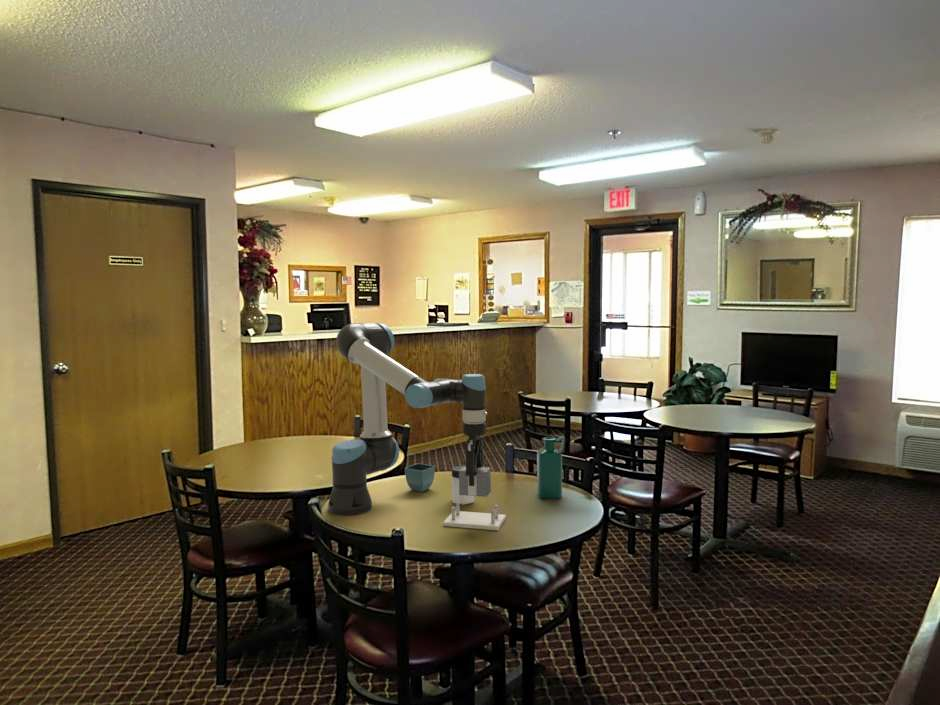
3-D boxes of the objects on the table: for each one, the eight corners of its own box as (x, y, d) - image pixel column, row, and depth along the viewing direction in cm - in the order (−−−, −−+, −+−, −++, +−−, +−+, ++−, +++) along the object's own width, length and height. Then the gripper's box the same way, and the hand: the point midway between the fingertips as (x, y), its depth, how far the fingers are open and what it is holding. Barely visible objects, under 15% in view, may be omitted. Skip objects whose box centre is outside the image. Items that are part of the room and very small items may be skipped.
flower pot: (422, 494, 242) (422, 470, 242) (404, 491, 247) (403, 468, 246) (436, 488, 250) (435, 465, 249) (417, 485, 255) (417, 463, 254)
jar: (458, 506, 228) (458, 472, 227) (446, 500, 235) (446, 468, 234) (479, 501, 233) (479, 469, 232) (467, 496, 240) (467, 464, 239)
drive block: (459, 495, 208) (458, 470, 208) (464, 489, 214) (464, 465, 214) (486, 496, 206) (486, 471, 205) (490, 491, 212) (490, 467, 211)
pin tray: (443, 525, 207) (443, 510, 207) (453, 514, 219) (453, 499, 219) (497, 530, 203) (497, 514, 202) (505, 518, 214) (505, 502, 214)
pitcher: (539, 499, 235) (539, 439, 233) (536, 492, 243) (536, 435, 242) (566, 498, 235) (566, 439, 234) (562, 492, 244) (562, 434, 242)
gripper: (478, 427, 198) (479, 501, 200) (492, 417, 217) (493, 485, 218) (454, 426, 200) (455, 500, 202) (470, 416, 219) (471, 483, 220)
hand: (475, 492), depth 210 cm, fingers closed on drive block, 6 cm apart
